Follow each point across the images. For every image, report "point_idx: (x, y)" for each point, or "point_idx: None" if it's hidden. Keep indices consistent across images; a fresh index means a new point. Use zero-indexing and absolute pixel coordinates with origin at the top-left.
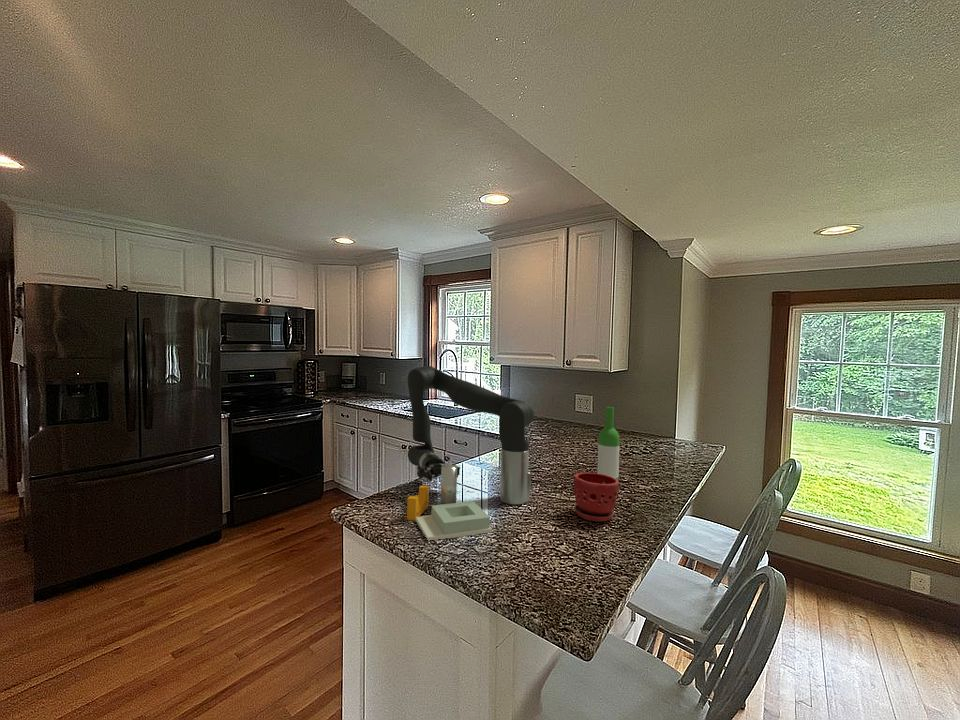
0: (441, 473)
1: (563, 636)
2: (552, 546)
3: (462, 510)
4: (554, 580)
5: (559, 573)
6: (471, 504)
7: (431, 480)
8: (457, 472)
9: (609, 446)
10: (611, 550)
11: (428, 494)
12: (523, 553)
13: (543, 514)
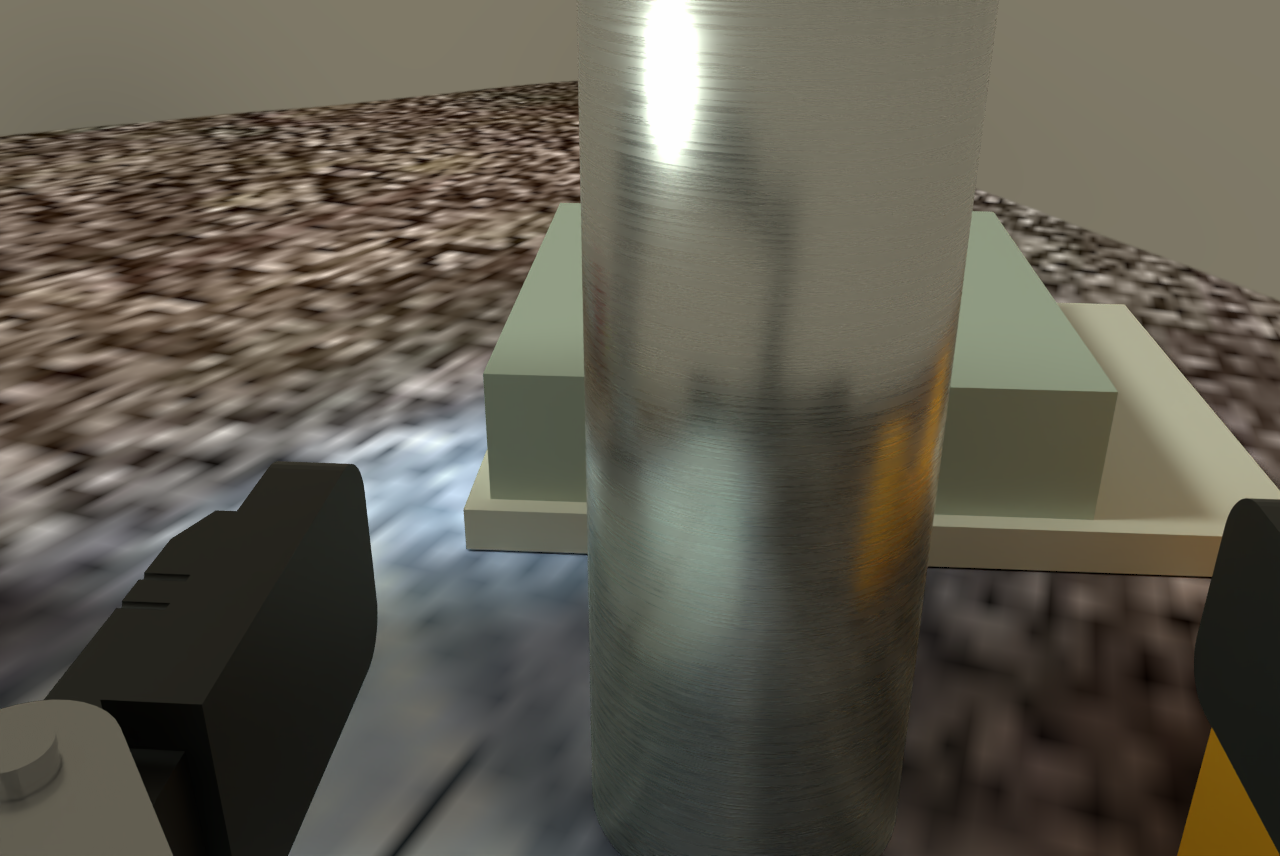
0: (980, 131)
1: None
2: (315, 207)
3: None
4: (550, 135)
5: (493, 144)
6: (568, 331)
7: (1217, 668)
8: (176, 556)
9: None
10: (83, 163)
11: (1209, 745)
12: (528, 204)
13: None
